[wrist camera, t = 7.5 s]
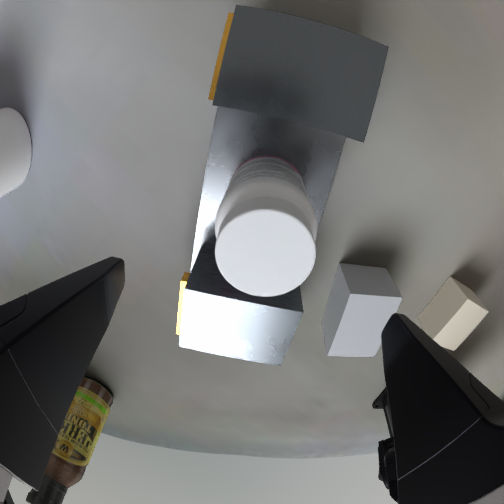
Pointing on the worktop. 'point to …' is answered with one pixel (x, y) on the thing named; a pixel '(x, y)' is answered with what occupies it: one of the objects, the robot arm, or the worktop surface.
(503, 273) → the worktop surface
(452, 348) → the cream rectangular block
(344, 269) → the grey block
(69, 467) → the sauce bottle
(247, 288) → the pill bottle
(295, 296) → the dark grey block rack
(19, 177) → the pill bottle
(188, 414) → the worktop surface
